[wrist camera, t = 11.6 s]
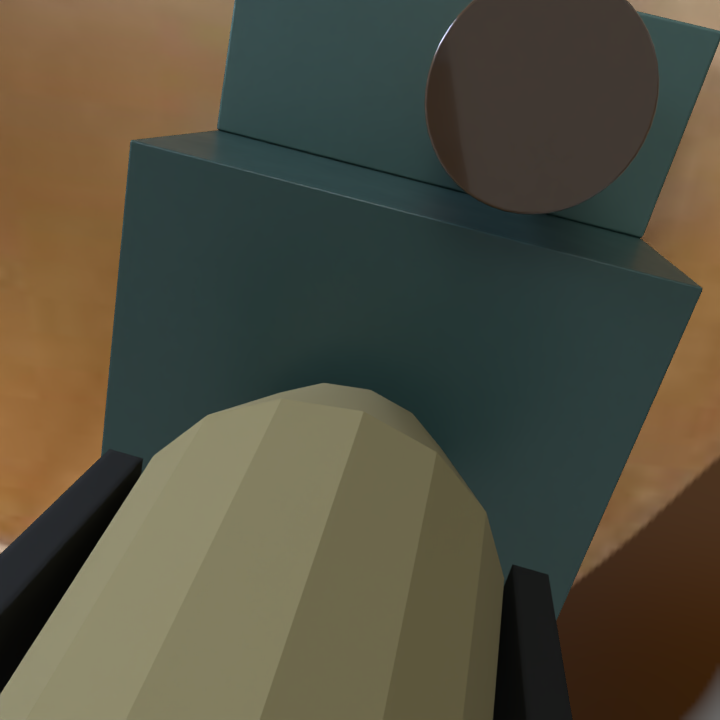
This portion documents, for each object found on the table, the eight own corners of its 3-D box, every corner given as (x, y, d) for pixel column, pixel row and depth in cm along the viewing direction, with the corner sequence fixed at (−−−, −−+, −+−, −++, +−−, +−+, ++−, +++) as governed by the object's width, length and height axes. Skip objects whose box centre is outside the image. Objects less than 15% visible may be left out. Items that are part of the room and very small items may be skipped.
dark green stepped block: (280, -54, 23) (122, -183, 13) (682, 42, 23) (872, -10, 12) (202, 441, 31) (62, 619, 20) (501, 526, 30) (519, 757, 20)
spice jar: (462, -2, 20) (459, -56, 13) (619, 35, 19) (699, 0, 13) (422, 159, 21) (400, 185, 15) (565, 195, 21) (609, 238, 14)
